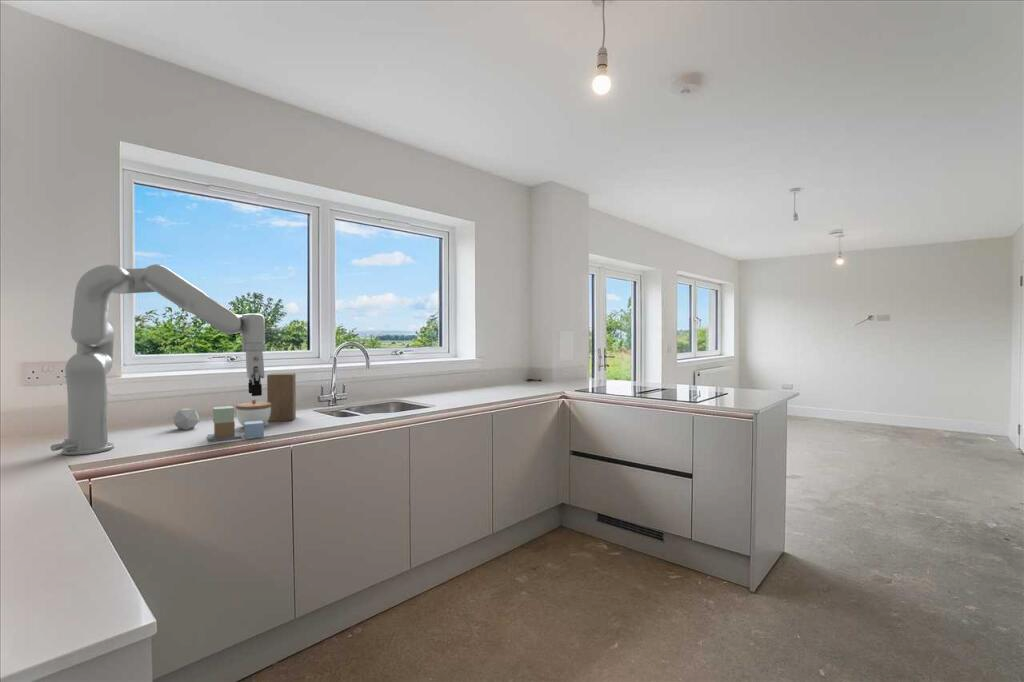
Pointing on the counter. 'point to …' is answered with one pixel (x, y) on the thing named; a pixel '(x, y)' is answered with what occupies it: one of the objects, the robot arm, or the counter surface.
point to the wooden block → (281, 396)
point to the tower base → (237, 435)
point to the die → (186, 419)
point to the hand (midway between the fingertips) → (255, 394)
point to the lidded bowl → (253, 411)
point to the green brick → (223, 414)
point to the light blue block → (253, 429)
